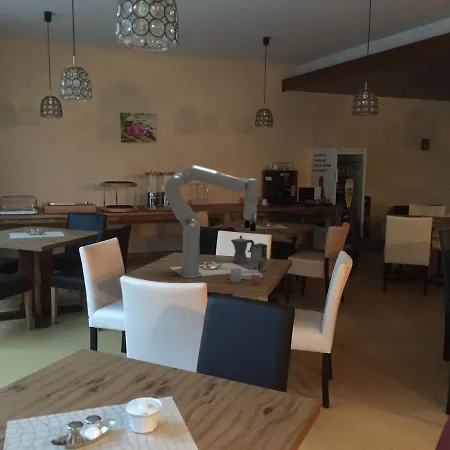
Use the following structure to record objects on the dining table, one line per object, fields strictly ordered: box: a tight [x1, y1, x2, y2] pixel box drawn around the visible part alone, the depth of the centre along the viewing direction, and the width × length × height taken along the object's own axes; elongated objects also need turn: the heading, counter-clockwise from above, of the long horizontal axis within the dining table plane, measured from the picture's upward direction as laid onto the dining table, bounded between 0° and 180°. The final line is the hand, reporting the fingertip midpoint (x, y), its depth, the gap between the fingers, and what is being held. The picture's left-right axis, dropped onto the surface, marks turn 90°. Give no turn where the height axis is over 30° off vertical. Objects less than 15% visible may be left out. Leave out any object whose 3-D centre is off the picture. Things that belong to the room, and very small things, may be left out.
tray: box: [241, 269, 264, 280], centre depth 299 cm, size 13×12×2 cm
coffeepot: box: [230, 235, 255, 265], centre depth 333 cm, size 15×9×18 cm, turn 82°
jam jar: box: [250, 272, 262, 284], centre depth 284 cm, size 5×5×6 cm
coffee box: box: [249, 242, 268, 273], centre depth 314 cm, size 9×6×16 cm
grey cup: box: [229, 268, 242, 284], centre depth 286 cm, size 6×6×7 cm
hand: (249, 229), depth 294 cm, fingers open, 9 cm apart
